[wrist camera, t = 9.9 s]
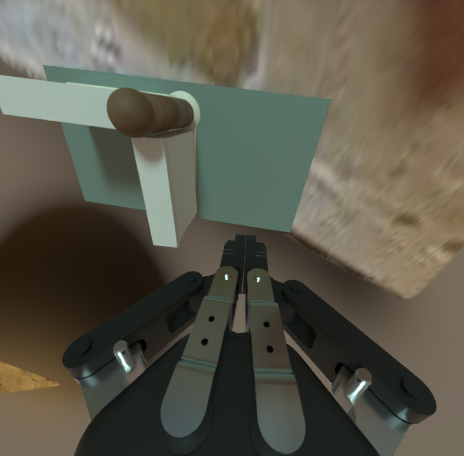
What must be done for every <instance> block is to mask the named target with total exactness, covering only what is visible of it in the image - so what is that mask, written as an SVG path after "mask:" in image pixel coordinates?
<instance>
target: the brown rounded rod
mask: <svg viewBox="0 0 464 456" xmlns="http://www.w3.org/2000/svg"><path fill="white" fill-rule="evenodd" d="M107 114H108V117H109V119H110V121H111V123H112V124H113V126H114V127H115V128H116V129H117V130H118V131H119V132H120V133H122V134H124V135H126V136H128V137H131V138H142V137H145V136H147V135H148V134H153V133H158V132H163V131H168V130H173V129H178V128H183V127H187V126H189V125H190V124H191V123H192V121H193V119H194V111H193V108H192V106H191V104H190V103H189V102H188V101H187V100H185V99H181V98H175V97H169V96H163V95H157V94H151V93H145V92H139V91H138V90H135V89H133V88H127V87H123V88H119V89H116V90H115V91H113V92H112V93H111V94H110V96H109V98H108V100H107Z"/></svg>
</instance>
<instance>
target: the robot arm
mask: <svg viewBox="0 0 464 456" xmlns="http://www.w3.org/2000/svg"><path fill="white" fill-rule="evenodd" d="M245 237H246V250H245ZM244 254H245V263H244ZM243 268H244V280H243ZM242 282H243V294H246V297H245V298H246V299H245V317H246V318H245V321H246V332H244V333H236V332H233V331H232V328H233V322H234V317H235V312H236V311H235V310H236V306H237V301H238V294H241V293H242ZM192 323H194V325H193V328H192V331H191V333H190V334H188V335H186V336H184V337H183V338H181V339H180V340H179V341H178V342H177V343H175V344H174V345H173V346H172V347H171V348H170V349H169V350H168V351H166V352H165V353H164V354H163V355H162V356H161V357H160V358H159V359H157V360H156V361H155V362H154V363H153V364H152V365H151V366H150V367H148V368H147V369H146V370H145V368H146V363H147V362H146V361H147V360H149V359H150V358H151V357H152V356H153V355H155V354H156V353H157V352H158V351H159V350H161V349H162V348H163V347H164V346H166V345H167V344H168V343H169V342H171V341H172V340H173V339H174V338H175V337H177V336H178V335H179V334H180V333H182V332H183V331H184V330H185V329H186V328H187V327H189V326H190V325H191V324H192ZM283 329H284V330H285V331H286V332H287V333H288V334H289V335H290V337H291V338H292V339H293V340H294V341H295V342H296V343H297V344H298V346H299V347H300V348H301V349H302V350H303V351H304V352H305V353H306V355H307V356H308V357H309V358H310V359H311V360H312V361H313V362H314V363H315V365H316V366H317V367H318V368H319V369H320V370H321V372H322V373H323V374H324V375H325V376H326V377H327V378H328V379H329V381H330V382H331V383H332V392H333V395H334V397H333V396H332V394H331V393H330V392H329V391H328V390H327V388H326V387H325V386H324V385H323V384H322V382H321V381H320V380H319V379H318V377H317V376H316V375H315V374H314V372H313V371H312V370H311V369H310V367H309V366H308V365H307V364H306V362H305V361H304V360H303V359H302V358H301V356H300V355H299V354H298V353H297V352H296V351H295V350H294V349H293V348H292V347H291V346H290V345H288V344H287V343H286V340H285V335H284V330H283ZM62 362H63V364H64V366H65V367H66V368H67V369H68V371H70V373H71V376H72V377H73V378H74V379H75V380H76V381H77V383H79V385H80V386H81V389H82V393H83V396H84V399H85V402H86V405H87V408H88V412H89V415H90V418H91V423H90V424H89V425H88V427H87V429H86V430H85V432H84V434H83V435H82V437H81V439H80V441H79V444H78V446H77V449H76V451H75V454H74V456H393V454H394V452H395V451H396V449H397V447H398V445H399V444H400V442H401V440H402V439H403V437H404V435H405V433H406V432H407V431H408V430H409V429H411V428H412V427H414V426H415V425H417V424H419V423H420V422H421V421H423V420H425V419H426V418H428V417H429V416H431V415H432V414H434V413H435V411H436V401H435V399H434V396H433V394H432V393H431V391H430V390H429V388H428V387H427V386H426V385H425V384H424V383H423V382H422V381H421V380H420V379H419V378H418V377H417V376H415V375H414V374H413V373H412V372H410V371H409V370H408V369H407V368H406V367H404V366H403V365H402V364H401V363H399V362H398V361H397V360H396V359H395V358H393V357H392V356H391V355H390V354H388V353H387V352H386V351H385V350H383V349H382V348H381V347H380V346H379V345H378V344H376V343H375V342H374V341H373V340H371V339H370V338H369V337H368V336H366V335H365V334H364V333H363V332H362V331H360V330H359V329H357V327H355V326H354V325H353V324H352V323H351V322H349V321H348V320H347V319H346V318H344V317H343V316H342V315H341V314H340V313H338V312H337V311H336V310H335V309H333V308H332V307H331V306H330V305H328V304H327V303H326V302H325V301H324V300H322V299H321V298H320V297H319V296H318V295H316V294H315V293H314V292H313V291H311V290H310V289H309V288H308V287H307V286H305V285H304V284H303V283H301V282H299V281H296V280H288V281H286V282H285V283H281V282H278V281H276V280H274V279H273V278H271V277H270V275H269V274H268V266H267V253H266V247H265V245H264V244H263V243H259V242H256V235H240V234H236V238H235V241H230V240H228V242H227V243H226V244H225V246H224V251H223V255H222V259H221V264H220V268H219V269H218V270H217V271H216V273H215V274H213V275H210V276H205V277H202V275H201V274H200V273H198V272H195V271H192V272H187V273H185V274H183V275H181V276H180V277H178V278H176V279H175V280H173V281H172V282H170V283H168V284H167V285H165V286H163V287H162V288H160V289H158V290H157V291H155V292H154V293H152V294H150V295H149V296H147V297H145V298H144V299H142V300H140V301H139V302H137V303H135V304H134V305H132V306H130V307H129V308H127V309H126V310H124V311H122V312H121V313H119V314H117V315H116V316H114V317H112V318H111V319H109V320H107V321H106V322H104V323H103V324H101V325H99V326H98V327H96V328H94V329H93V330H91V331H89V332H88V333H86V334H84V335H83V336H81V337H80V338H78V339H76V340H75V341H74V342H73V343H72V344H71V345H70V346H69V347H68V348H67V349H66V351H65V353H64V355H63V359H62ZM144 370H145V371H144Z"/></svg>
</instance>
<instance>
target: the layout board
mask: <svg viewBox="0 0 464 456" xmlns="http://www.w3.org/2000/svg"><path fill="white" fill-rule="evenodd" d="M43 67H44V70H45V73H46V76H47V80H48V81H50V82H58V83H66V84H74V85H83V86H91V87H99V88H107V89H115V90H116V89H119V88H123V87H127V88H133V89H135V90H138V91H139V92H145V93H151V94H157V95H163V96H169V97H175V98H181V99H185V100H187V101H188V102H189V103H190V104H191V106H192V108H193V111H194V119H193V121H192V123H191V124H190V125H189V126H187V127H183V128H178V129H173V130H179V131H192V137H193V153H194V169H195V185H196V202H197V213H196V215H195V216H194V218H199V219H205V220H212V221H218V222H225V223H231V224H237V225H244V226H250V227H257V228H264V229H270V230H276V231H283V232H289V233H290V230H291V227H292V224H293V220H294V217H295V214H296V211H297V207H298V204H299V201H300V198H301V195H302V191H303V188H304V185H305V182H306V179H307V175H308V172H309V169H310V166H311V162H312V159H313V156H314V153H315V150H316V146H317V143H318V140H319V137H320V134H321V130H322V127H323V124H324V121H325V117H326V114H327V111H328V108H329V105H330V101H331V100H329V99H321V98H312V97H304V96H296V95H287V94H279V93H271V92H262V91H254V90H246V89H238V88H229V87H221V86H213V85H204V84H196V83H188V82H179V81H171V80H163V79H154V78H146V77H138V76H129V75H121V74H113V73H104V72H96V71H88V70H79V69H71V68H63V67H54V66H46V65H43ZM61 125H62V128H63V131H64V134H65V138H66V141H67V144H68V147H69V151H70V154H71V157H72V160H73V163H74V166H75V170H76V173H77V176H78V180H79V183H80V186H81V189H82V193H83V196H84V199H85V201H89V202H96V203H102V204H109V205H115V206H122V207H128V208H135V209H141V210H146V206H145V202H144V197H143V192H142V187H141V183H140V178H139V173H138V168H137V164H136V159H135V154H134V149H133V145H132V140H131V137H128V136H126V135H124V134H122V133H120V132H119V131H118V130H117V129H111V128H104V127H96V126H89V125H81V124H74V123H67V122H61ZM168 131H171V130H168ZM163 132H166V131H163ZM158 133H162V132H158ZM153 134H157V133H153ZM148 135H152V134H148Z"/></svg>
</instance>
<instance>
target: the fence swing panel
mask: <svg viewBox="0 0 464 456" xmlns="http://www.w3.org/2000/svg"><path fill="white" fill-rule="evenodd" d="M131 140H132V145H133V149H134V154H135V159H136V164H137V168H138V173H139V178H140V183H141V187H142V192H143V197H144V202H145V206H146V211H147V216H148V220H149V225H150V230H151V235H152V240H153V244H154V245H159V246H169V247H178V246H179V244H180V239H181V237H182V236H183V234H184V232H185V231H186V229H187V228H188V226H189V224H190V222H191V221H192V219H193V218H194V216H195V215H196V213H197V202H196V185H195V169H194V153H193V137H192V131H179V130H171V131H166V132H162V133H157V134H152V135H147V136H145V137H142V138H131Z"/></svg>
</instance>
